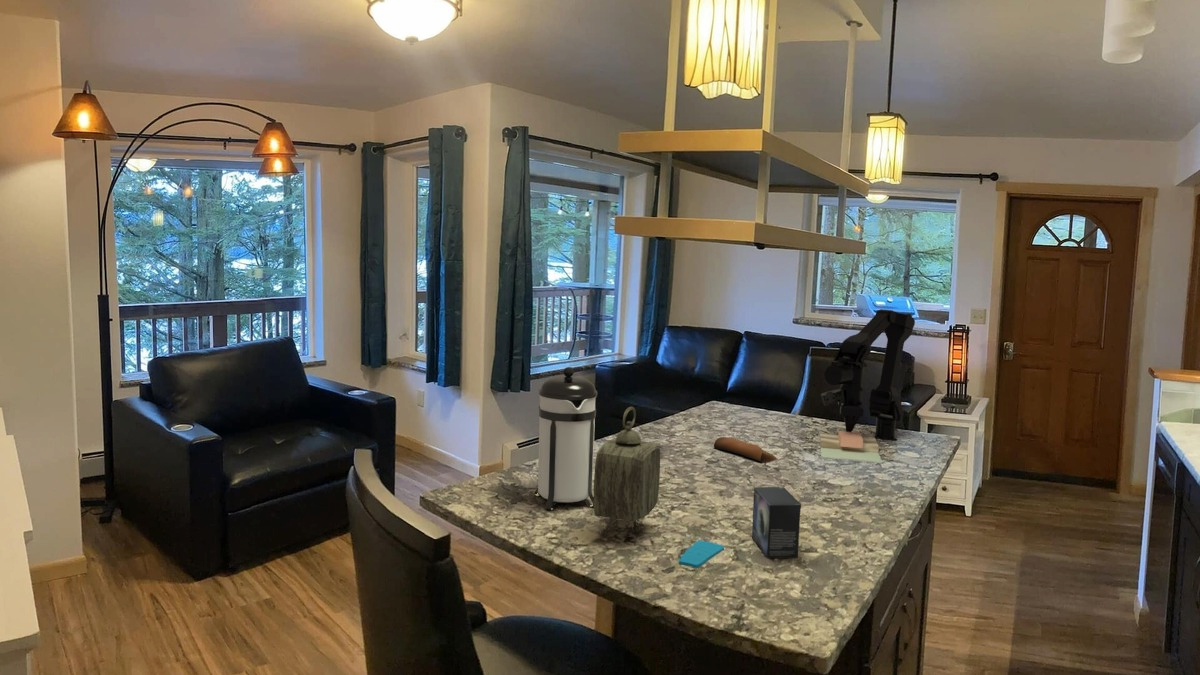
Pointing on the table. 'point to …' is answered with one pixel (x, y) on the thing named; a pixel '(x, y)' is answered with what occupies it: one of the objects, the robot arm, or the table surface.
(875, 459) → the sage mat
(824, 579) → the table surface
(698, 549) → the sponge
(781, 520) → the small box
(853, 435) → the coral tile
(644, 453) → the tabletop clock
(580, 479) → the coffee press
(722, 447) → the sunglasses case
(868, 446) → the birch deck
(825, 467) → the table surface
